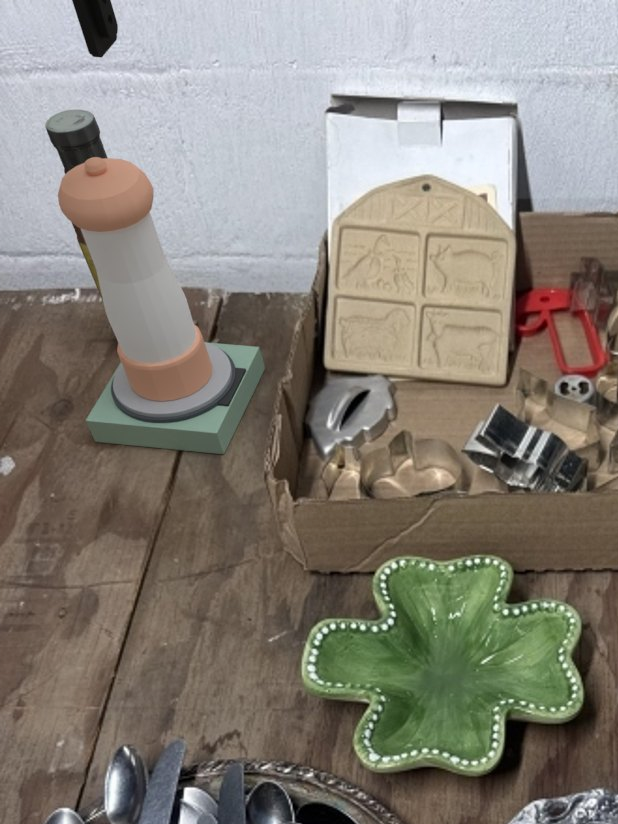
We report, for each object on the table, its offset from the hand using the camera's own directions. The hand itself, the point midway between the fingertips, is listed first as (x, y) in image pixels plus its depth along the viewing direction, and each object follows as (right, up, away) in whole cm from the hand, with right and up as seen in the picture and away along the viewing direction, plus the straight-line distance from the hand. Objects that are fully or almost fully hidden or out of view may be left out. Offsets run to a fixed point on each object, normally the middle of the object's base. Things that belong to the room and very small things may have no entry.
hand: (36, 43), depth 72 cm
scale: (+1, -17, +25) cm, 31 cm away
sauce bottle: (-4, -8, +32) cm, 33 cm away
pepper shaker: (+1, -15, +23) cm, 28 cm away
